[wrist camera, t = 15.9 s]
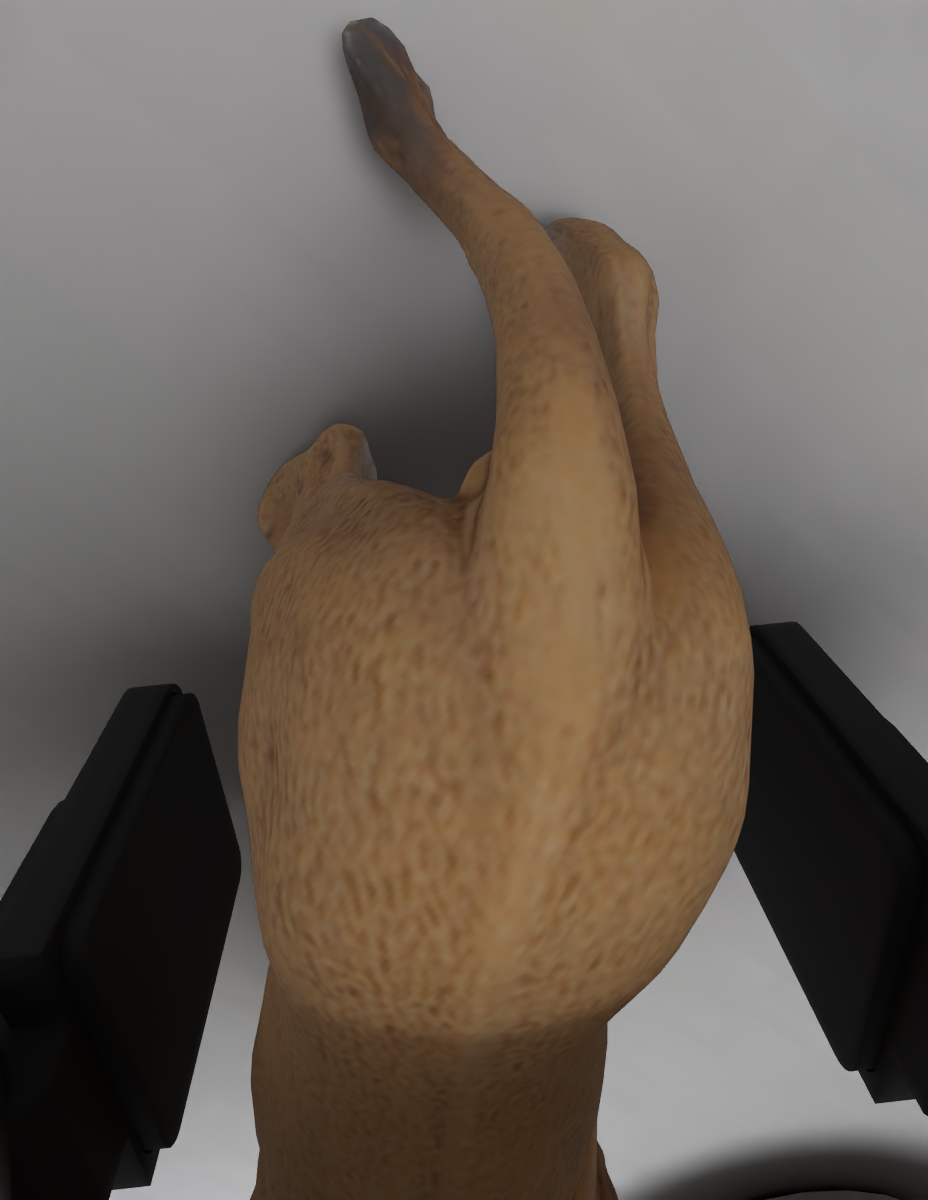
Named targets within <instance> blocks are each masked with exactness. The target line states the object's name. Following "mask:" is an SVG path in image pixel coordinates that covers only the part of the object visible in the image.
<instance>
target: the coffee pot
mask: <svg viewBox="0 0 928 1200" xmlns="http://www.w3.org/2000/svg"><path fill="white" fill-rule="evenodd" d="M765 1200H899V1199H896V1198H893V1197H890V1196H887V1195H881V1194H873V1193H865V1192H857V1191H848V1190H847V1191H824V1192H804V1193H798V1194H793V1195H787V1196H782V1197H776V1198H771V1199H765Z"/></svg>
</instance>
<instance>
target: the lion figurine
mask: <svg viewBox="0 0 928 1200" xmlns="http://www.w3.org/2000/svg"><path fill="white" fill-rule="evenodd" d="M342 41H343V51H344V54H345V58H346V62H347V65H348V68H349V70H350V73H351V76H352V79H353V82H354V85H355V87H356V90H357V93H358V96H359V100H360V104H361V108H362V112H363V116H364V121H365V125H366V129H367V133H368V135H369V138H370V140H371V142H372V145H373V147H374V150H375V151H376V152H377V153H378V154H379V155H380V156H381V157H382V158H383V159H384V160H385V161H386V162H387V163H388V164H389V165H390V166H391V167H392V168H393V169H394V170H395V171H396V172H397V173H398V174H399V175H400V176H401V177H402V178H403V179H404V180H405V181H406V182H407V183H408V184H409V185H410V186H411V188H412V189H413V190H414V191H415V192H416V194H417V195H418V196H419V197H420V198H421V199H422V200H423V201H424V203H425V204H426V205H427V206H428V207H429V208H430V209H431V210H432V211H433V212H434V213H435V214H436V215H437V216H438V217H439V219H440V220H441V221H442V222H443V224H444V225H445V226H446V227H447V228H448V229H449V230H450V231H451V233H452V234H453V235H454V236H455V238H456V239H457V240H458V242H459V244H460V245H461V247H462V249H463V251H464V252H465V255H466V257H467V260H468V263H469V265H470V267H471V269H472V270H473V272H474V274H475V275H476V277H477V279H478V281H479V284H480V286H481V289H482V291H483V294H484V297H485V300H486V304H487V307H488V311H489V314H490V318H491V322H492V325H493V329H494V337H495V345H496V369H497V400H496V424H495V432H494V440H493V448H492V450H491V451H490V452H488V453H487V454H485V455H484V456H482V457H481V458H479V459H478V460H477V461H475V462H474V464H473V465H472V467H471V468H470V470H469V471H468V473H467V475H466V477H465V479H464V482H463V484H462V486H461V488H460V490H459V493H458V494H456V495H455V496H454V497H452V498H446V497H438V496H435V495H432V494H429V493H427V492H424V491H421V490H418V489H415V488H412V487H409V486H405V485H402V484H399V483H395V482H391V481H385V480H377V472H376V467H375V465H374V462H373V459H372V456H371V452H370V449H369V445H368V442H367V438H366V437H365V435H364V434H363V432H362V431H360V430H359V429H358V428H356V427H354V426H350V425H346V424H342V423H340V424H334V425H333V426H331V427H329V428H328V429H326V430H325V431H324V432H322V433H321V435H320V436H319V438H318V439H317V440H316V442H315V443H314V444H313V445H312V446H311V447H310V448H309V449H308V450H307V451H306V452H305V453H302V454H299V455H298V456H296V457H294V458H292V459H291V460H289V461H288V462H286V463H285V464H284V465H283V466H282V467H281V468H280V469H279V471H278V472H277V473H276V474H275V476H274V477H273V479H272V480H271V482H270V484H269V485H268V487H267V488H266V490H265V492H264V494H263V496H262V499H261V502H260V505H259V508H258V518H257V521H258V524H259V526H260V529H261V531H262V532H263V534H264V535H265V537H266V538H267V540H268V541H269V543H270V544H271V546H272V547H273V549H274V550H275V553H274V555H273V556H272V557H271V558H270V559H269V561H268V562H267V563H266V565H265V566H264V568H263V570H262V571H261V573H260V575H259V576H258V578H257V582H256V585H255V588H254V591H253V595H252V600H251V610H250V622H251V633H250V640H249V648H248V655H247V662H246V669H245V676H244V683H243V690H242V697H241V704H240V711H239V718H238V768H239V773H240V779H241V784H242V790H243V795H244V801H245V806H246V812H247V817H248V826H249V837H250V849H251V860H252V871H253V883H254V894H255V900H256V906H257V911H258V917H259V922H260V928H261V933H262V939H263V944H264V948H265V950H266V953H267V956H268V958H269V961H270V963H269V968H268V973H267V979H266V984H265V991H264V997H263V1003H262V1008H261V1013H260V1018H259V1023H258V1028H257V1033H256V1038H255V1043H254V1048H253V1053H252V1069H251V1090H252V1099H253V1108H254V1117H255V1127H256V1136H257V1140H258V1144H259V1148H260V1152H259V1158H258V1168H257V1179H256V1186H255V1188H254V1191H253V1194H252V1196H251V1199H250V1200H618V1197H617V1194H616V1191H615V1188H614V1186H613V1184H612V1181H611V1179H610V1177H609V1175H608V1172H607V1169H606V1165H605V1158H604V1154H603V1151H602V1149H601V1147H600V1145H599V1143H598V1142H597V1116H598V1110H599V1103H600V1097H601V1091H602V1085H603V1078H604V1068H605V1059H606V1050H607V1022H608V1021H609V1020H610V1019H611V1018H612V1017H613V1016H614V1015H616V1014H617V1013H618V1012H619V1011H620V1010H621V1009H622V1008H623V1007H624V1006H625V1005H626V1004H627V1003H629V1002H630V1001H631V1000H632V999H633V998H634V997H635V996H636V995H637V994H638V993H639V992H641V991H642V990H643V989H644V988H645V987H646V986H647V985H648V984H649V983H650V982H651V981H652V980H653V979H654V978H655V977H656V976H657V975H658V974H659V973H660V972H661V971H662V969H663V968H664V967H665V966H666V964H667V963H668V962H669V961H670V959H671V958H672V957H673V955H674V954H675V953H676V952H677V950H678V949H679V947H680V946H681V944H682V943H683V941H684V939H685V938H686V936H687V935H688V933H689V931H690V930H691V928H692V926H693V925H694V923H695V922H696V920H697V918H698V917H699V915H700V914H701V912H702V910H703V909H704V907H705V905H706V903H707V901H708V899H709V898H710V896H711V894H712V892H713V890H714V889H715V887H716V885H717V883H718V881H719V879H720V878H721V876H722V874H723V872H724V870H725V869H726V867H727V864H728V862H729V860H730V858H731V856H732V853H733V851H734V848H735V846H736V843H737V841H738V838H739V834H740V831H741V828H742V824H743V821H744V818H745V811H746V804H747V796H748V788H749V775H750V753H751V731H752V709H753V688H754V664H753V651H752V642H751V635H750V630H749V625H748V619H747V614H746V609H745V604H744V599H743V593H742V589H741V586H740V583H739V581H738V578H737V575H736V573H735V570H734V567H733V565H732V562H731V560H730V557H729V555H728V553H727V550H726V548H725V546H724V543H723V541H722V539H721V536H720V534H719V532H718V530H717V527H716V525H715V523H714V521H713V518H712V516H711V514H710V512H709V510H708V509H707V507H706V505H705V503H704V501H703V499H702V497H701V495H700V493H699V491H698V489H697V487H696V486H695V484H694V481H693V479H692V476H691V474H690V472H689V469H688V467H687V464H686V462H685V459H684V457H683V454H682V452H681V449H680V447H679V444H678V442H677V440H676V437H675V435H674V432H673V430H672V427H671V425H670V422H669V420H668V417H667V414H666V411H665V408H664V405H663V402H662V398H661V395H660V392H659V387H658V381H657V366H656V344H655V330H656V323H657V315H658V308H659V297H658V291H657V287H656V283H655V279H654V275H653V271H652V270H651V268H650V266H649V264H648V263H647V261H646V260H645V259H644V257H643V256H642V255H641V253H640V252H639V251H638V250H636V249H635V248H633V247H632V246H630V245H629V244H628V243H626V242H625V241H624V240H623V239H622V238H621V237H620V236H619V235H618V234H617V233H616V232H615V231H614V230H613V229H611V228H609V227H608V226H606V225H605V224H602V223H599V222H596V221H591V220H586V219H579V218H565V219H559V220H557V221H555V222H553V223H551V224H549V225H548V226H547V228H546V229H545V230H544V228H543V227H542V225H541V224H540V223H539V222H538V221H537V219H536V218H535V217H534V216H533V214H532V213H531V212H530V211H529V210H528V209H527V208H526V207H525V206H524V205H523V204H522V203H521V202H519V201H518V200H517V199H516V198H514V197H513V196H512V195H510V194H509V193H507V192H506V191H505V190H503V189H502V188H501V187H499V186H498V185H497V184H496V183H495V182H494V181H493V180H492V179H491V178H489V177H488V176H487V175H486V174H485V173H484V172H483V171H482V170H480V169H479V168H478V167H477V166H476V165H475V164H474V163H473V162H472V161H471V160H470V159H469V158H468V157H467V156H466V155H465V154H464V153H463V152H462V151H461V150H460V149H459V148H458V147H457V146H456V145H455V144H454V143H452V142H451V141H450V140H449V139H448V138H447V136H446V135H445V133H444V131H443V129H442V128H441V126H440V125H439V123H438V122H437V120H436V118H435V114H434V108H433V100H432V96H431V92H430V88H429V87H428V86H427V84H426V83H425V82H424V81H423V80H422V79H421V78H420V77H419V76H418V74H417V73H416V72H415V70H414V68H413V66H412V64H411V62H410V60H409V57H408V55H407V52H406V49H405V47H404V46H403V44H402V43H401V42H400V41H399V40H398V38H397V37H396V36H395V35H394V34H393V32H392V31H391V30H390V29H389V28H388V27H386V26H385V25H383V24H382V23H380V22H379V21H377V20H376V19H374V18H366V19H361V20H356V21H350V22H349V24H348V25H347V26H346V28H345V29H344V31H343V33H342Z"/></svg>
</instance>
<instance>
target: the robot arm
mask: <svg viewBox="0 0 928 1200" xmlns="http://www.w3.org/2000/svg"><path fill="white" fill-rule="evenodd" d="M749 630H750V635H751V642H752V651H753V664H754V688H753V709H752V731H751V753H750V775H749V788H748V796H747V804H746V811H745V818H744V821H743V824H742V828H741V831H740V834H739V838H738V841H737V843H736V846H735V848H734V852H735V854H736V856H737V858H738V860H739V862H740V864H741V866H742V868H743V870H744V872H745V874H746V876H747V878H748V880H749V882H750V884H751V886H752V888H753V890H754V892H755V894H756V896H757V898H758V900H759V902H760V904H761V906H762V908H763V910H764V912H765V914H766V916H767V918H768V920H769V922H770V924H771V926H772V928H773V930H774V932H775V934H776V936H777V938H778V941H779V943H780V945H781V947H782V949H783V951H784V953H785V955H786V957H787V959H788V961H789V963H790V965H791V967H792V969H793V971H794V973H795V975H796V977H797V979H798V981H799V983H800V985H801V987H802V989H803V991H804V993H805V995H806V997H807V999H808V1001H809V1003H810V1005H811V1007H812V1009H813V1011H814V1013H815V1015H816V1017H817V1019H818V1021H819V1023H820V1025H821V1027H822V1029H823V1031H824V1033H825V1035H826V1037H827V1039H828V1041H829V1044H830V1046H831V1048H832V1050H833V1052H834V1054H835V1056H836V1057H837V1059H838V1061H839V1062H840V1064H841V1065H842V1066H843V1067H844V1069H846V1070H848V1071H857V1070H858V1071H859V1073H860V1075H861V1077H862V1079H863V1081H864V1083H865V1085H866V1087H867V1089H868V1091H869V1093H870V1095H871V1097H872V1098H873V1100H874V1102H875V1104H876V1103H885V1102H894V1101H902V1100H911V1099H916V1100H917V1102H918V1104H919V1106H920V1107H921V1109H922V1111H923V1113H924V1114H925V1115H927V1116H928V763H927V761H926V760H925V759H924V758H923V757H922V756H921V755H920V754H919V753H918V752H917V750H916V749H915V748H914V747H913V746H912V745H911V744H910V743H909V742H908V741H907V739H906V738H905V737H904V736H903V735H902V734H901V733H900V732H899V731H898V730H897V728H896V727H895V726H894V725H893V724H891V723H890V722H889V721H888V720H886V719H885V718H884V717H883V716H882V715H881V714H880V713H879V711H878V710H877V709H876V708H875V707H874V706H873V705H872V704H871V703H870V701H869V700H868V699H867V698H866V697H865V696H864V695H863V694H862V693H861V692H860V690H859V689H858V688H857V687H856V686H855V685H854V684H853V683H852V682H851V680H850V679H849V678H848V677H847V676H846V675H845V674H844V673H843V672H842V671H841V669H840V668H839V667H838V666H837V665H836V664H835V663H834V662H833V661H832V659H831V658H830V657H829V656H828V655H827V654H826V653H825V652H824V651H823V650H822V648H821V647H820V646H819V645H818V644H817V643H816V642H815V641H814V640H813V638H812V637H811V636H810V635H809V634H808V633H807V632H806V631H805V630H804V628H803V627H802V626H801V625H799V624H798V623H797V622H784V623H774V624H764V625H754V626H750V627H749ZM240 876H241V853H240V849H239V845H238V841H237V838H236V834H235V830H234V827H233V823H232V820H231V816H230V813H229V809H228V805H227V802H226V798H225V795H224V791H223V788H222V784H221V781H220V777H219V773H218V770H217V766H216V763H215V759H214V756H213V752H212V748H211V745H210V741H209V738H208V734H207V731H206V727H205V723H204V720H203V716H202V713H201V709H200V706H199V702H198V700H197V698H196V696H195V695H194V694H193V693H187V694H183V693H182V690H181V689H180V687H179V686H178V685H177V684H175V683H173V684H163V685H153V686H143V687H133V688H129V689H127V691H126V692H125V693H124V695H123V696H122V698H121V700H120V702H119V704H118V705H117V707H116V709H115V711H114V713H113V714H112V716H111V718H110V720H109V721H108V723H107V725H106V727H105V729H104V730H103V732H102V734H101V736H100V738H99V739H98V741H97V743H96V745H95V746H94V748H93V750H92V752H91V754H90V755H89V757H88V759H87V761H86V763H85V764H84V766H83V768H82V770H81V771H80V773H79V775H78V777H77V779H76V780H75V782H74V784H73V786H72V788H71V789H70V791H69V793H68V795H67V796H66V798H65V800H63V801H61V802H59V803H58V804H57V805H56V807H55V808H54V809H53V810H52V812H51V813H50V815H49V817H48V818H47V820H46V822H45V824H44V825H43V827H42V829H41V831H40V832H39V834H38V836H37V838H36V839H35V841H34V843H33V845H32V846H31V848H30V850H29V852H28V853H27V855H26V857H25V859H24V860H23V862H22V864H21V866H20V867H19V869H18V871H17V873H16V874H15V876H14V878H13V880H12V881H11V883H10V885H9V887H8V888H7V890H6V892H5V894H4V895H3V897H2V899H1V901H0V1200H109V1197H110V1194H111V1190H116V1189H125V1188H134V1187H143V1186H151V1182H152V1178H153V1174H154V1170H155V1166H156V1162H157V1158H158V1154H159V1150H160V1149H162V1148H170V1147H171V1146H172V1145H173V1144H174V1143H175V1141H176V1139H177V1136H178V1133H179V1130H180V1126H181V1122H182V1118H183V1114H184V1110H185V1105H186V1101H187V1097H188V1093H189V1089H190V1085H191V1081H192V1076H193V1072H194V1068H195V1064H196V1060H197V1056H198V1052H199V1047H200V1043H201V1039H202V1035H203V1031H204V1027H205V1023H206V1018H207V1014H208V1010H209V1006H210V1002H211V998H212V994H213V989H214V985H215V981H216V977H217V973H218V969H219V965H220V960H221V956H222V952H223V948H224V944H225V940H226V936H227V931H228V927H229V923H230V919H231V915H232V911H233V907H234V902H235V898H236V894H237V890H238V886H239V882H240Z"/></svg>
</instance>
